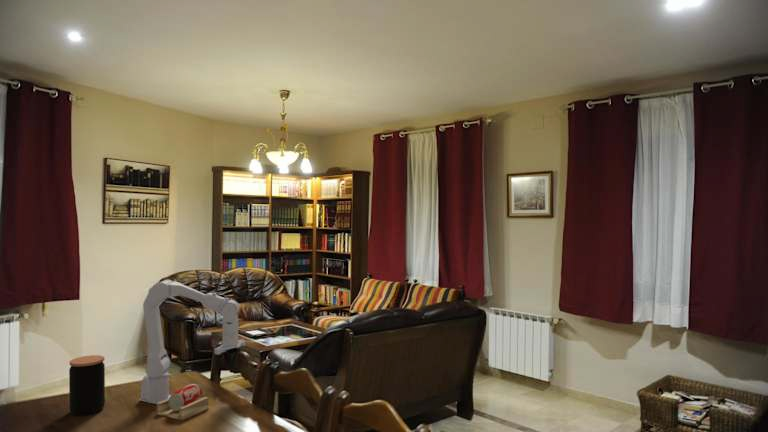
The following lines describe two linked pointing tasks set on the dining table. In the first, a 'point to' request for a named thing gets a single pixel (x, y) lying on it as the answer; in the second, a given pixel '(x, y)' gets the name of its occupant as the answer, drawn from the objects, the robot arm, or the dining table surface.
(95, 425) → the dining table surface
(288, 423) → the dining table surface
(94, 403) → the coffee jar
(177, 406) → the soda can
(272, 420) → the dining table surface
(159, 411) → the cradle
